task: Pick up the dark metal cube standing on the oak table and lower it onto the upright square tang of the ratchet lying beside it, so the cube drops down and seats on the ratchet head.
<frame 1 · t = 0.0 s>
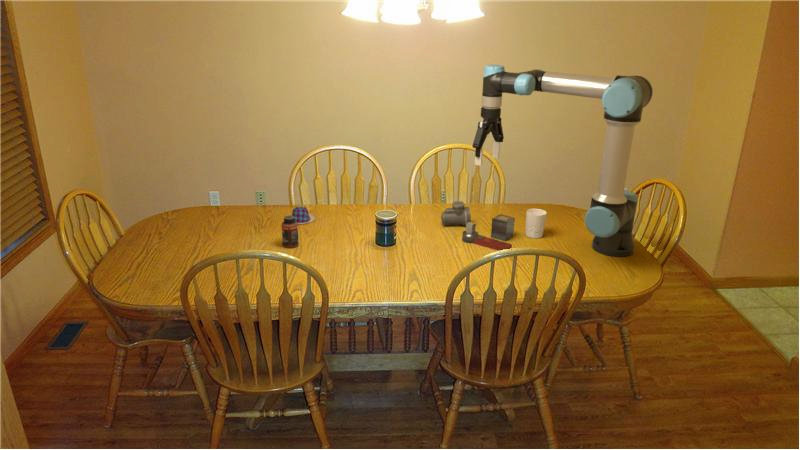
hand: (486, 161, 230), 28 cm above the table, fingers open, 13 cm apart
purple plaid hat: (300, 220, 245), on the table
ratchet: (469, 240, 227), on the table
supplement bottle: (290, 245, 219), on the table
white cup: (533, 235, 234), on the table
dark metal cube: (501, 237, 231), on the table
pipe fitting: (455, 225, 242), on the table
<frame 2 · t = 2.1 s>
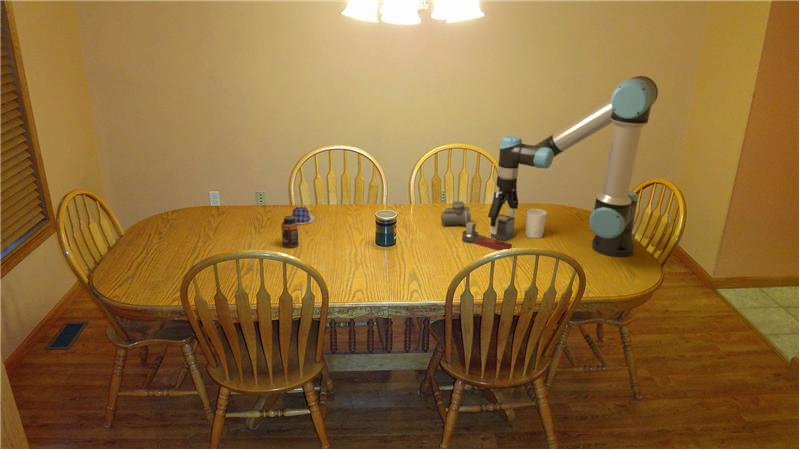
hand: (501, 228, 230), 4 cm above the table, fingers open, 13 cm apart
nothing on the table moved.
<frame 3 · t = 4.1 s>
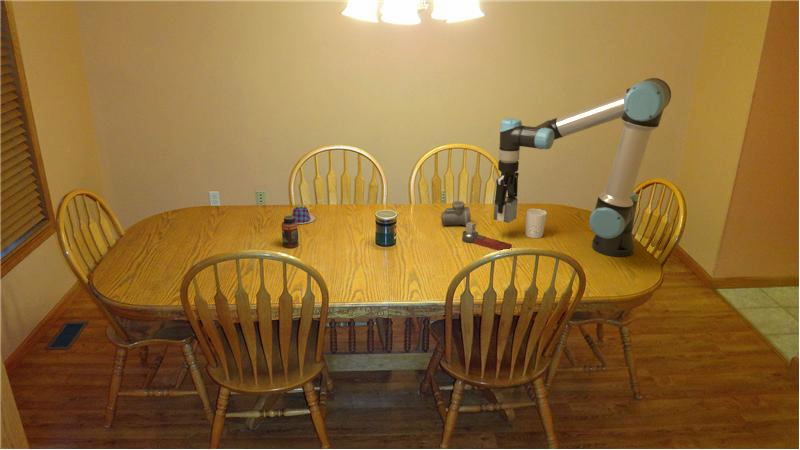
hand: (505, 218, 228), 8 cm above the table, fingers closed on dark metal cube, 6 cm apart
dark metal cube: (504, 218, 228), point 8 cm above the table, touching gripper
everything else where it was.
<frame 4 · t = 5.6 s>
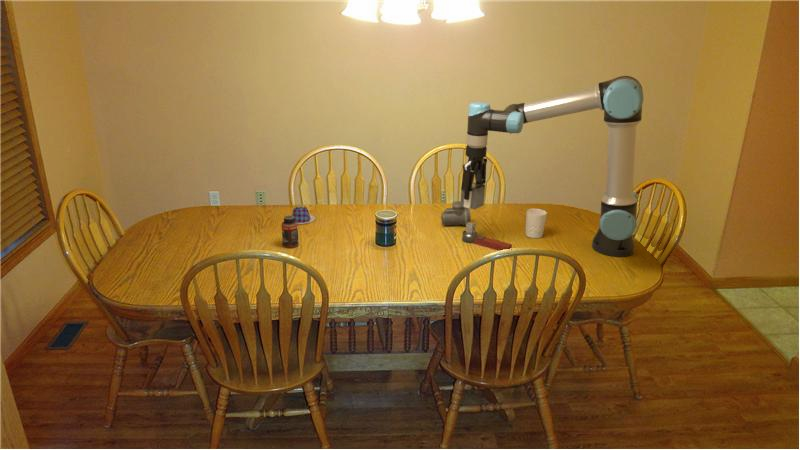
hand: (472, 204, 222), 15 cm above the table, fingers closed on dark metal cube, 6 cm apart
dark metal cube: (471, 205, 222), point 14 cm above the table, touching gripper
everything else where it was.
when the fingers open (3 cm above the table, at t = 7.5 s): dark metal cube stays where it is, resting on ratchet.
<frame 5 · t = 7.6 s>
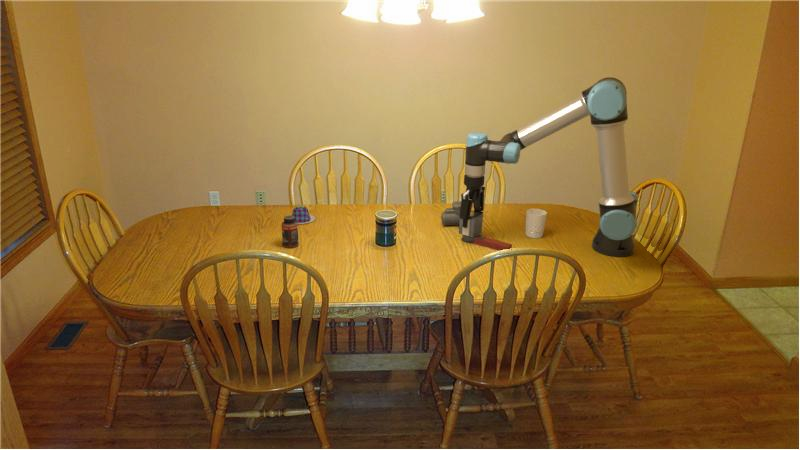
hand: (470, 232, 226), 3 cm above the table, fingers open, 6 cm apart
dark metal cube: (470, 233, 226), point 3 cm above the table, touching ratchet
everything else where it was.
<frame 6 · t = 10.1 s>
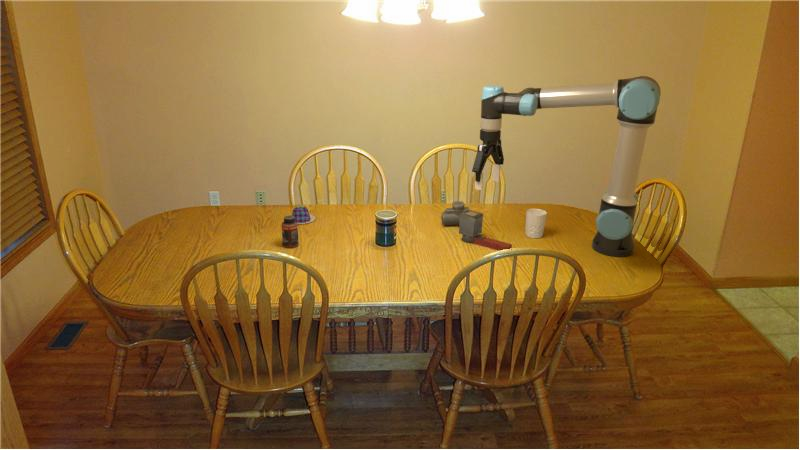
hand: (487, 185, 221), 22 cm above the table, fingers open, 13 cm apart
nothing on the table moved.
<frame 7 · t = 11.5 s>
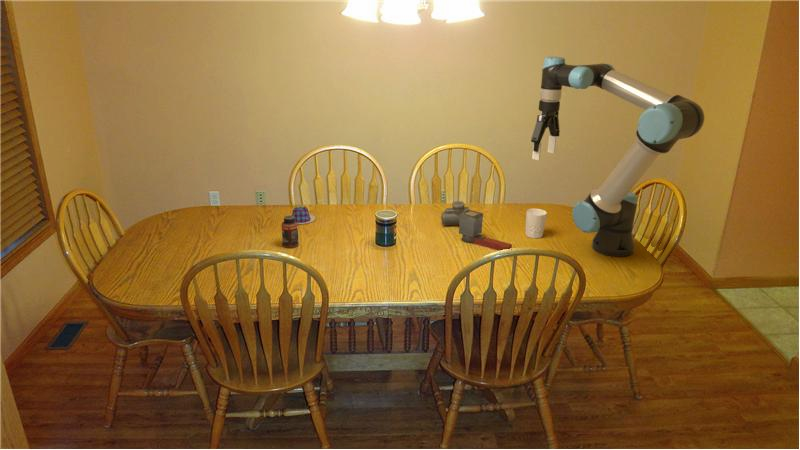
hand: (543, 156, 225), 32 cm above the table, fingers open, 13 cm apart
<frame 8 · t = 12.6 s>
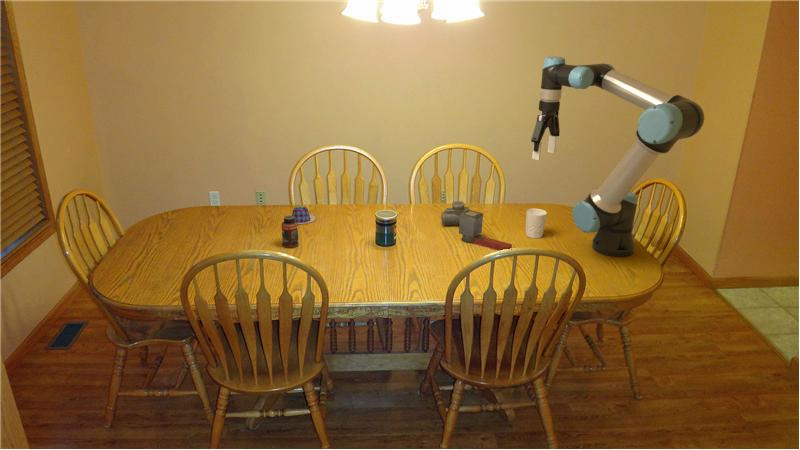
hand: (543, 156, 225), 32 cm above the table, fingers open, 13 cm apart
at the end: dark metal cube 0.1 cm off-centre on the ratchet, point 3.0 cm above the ratchet's base; dark metal cube tilted 0°; the gripper is holding nothing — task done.
